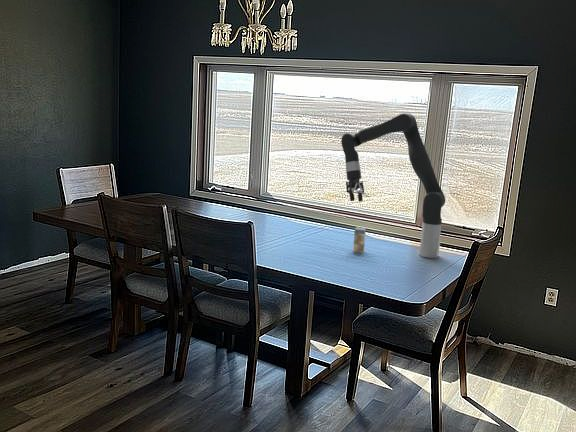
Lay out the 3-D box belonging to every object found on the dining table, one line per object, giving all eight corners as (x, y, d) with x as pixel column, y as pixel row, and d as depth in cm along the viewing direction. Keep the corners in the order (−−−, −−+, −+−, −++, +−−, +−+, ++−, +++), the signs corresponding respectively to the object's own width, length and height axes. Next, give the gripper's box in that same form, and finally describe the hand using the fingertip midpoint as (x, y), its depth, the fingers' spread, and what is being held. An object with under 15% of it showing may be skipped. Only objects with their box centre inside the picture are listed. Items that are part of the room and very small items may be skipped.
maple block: (363, 250, 303) (365, 228, 300) (362, 253, 298) (364, 230, 295) (354, 249, 304) (356, 227, 301) (353, 252, 299) (354, 229, 297)
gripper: (352, 168, 303) (356, 199, 302) (366, 170, 315) (369, 200, 313) (340, 171, 308) (343, 201, 306) (354, 172, 319) (357, 202, 318)
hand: (356, 201), depth 310 cm, fingers open, 8 cm apart
